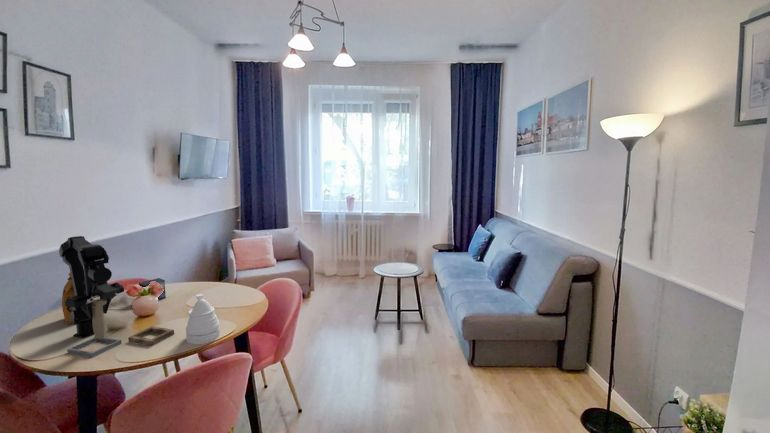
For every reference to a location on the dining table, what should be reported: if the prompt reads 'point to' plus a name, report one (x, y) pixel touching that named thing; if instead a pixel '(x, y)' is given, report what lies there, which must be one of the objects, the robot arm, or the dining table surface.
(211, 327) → the honey pot
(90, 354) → the frame
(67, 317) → the coffee package
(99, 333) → the handle
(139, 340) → the socket stand
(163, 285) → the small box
